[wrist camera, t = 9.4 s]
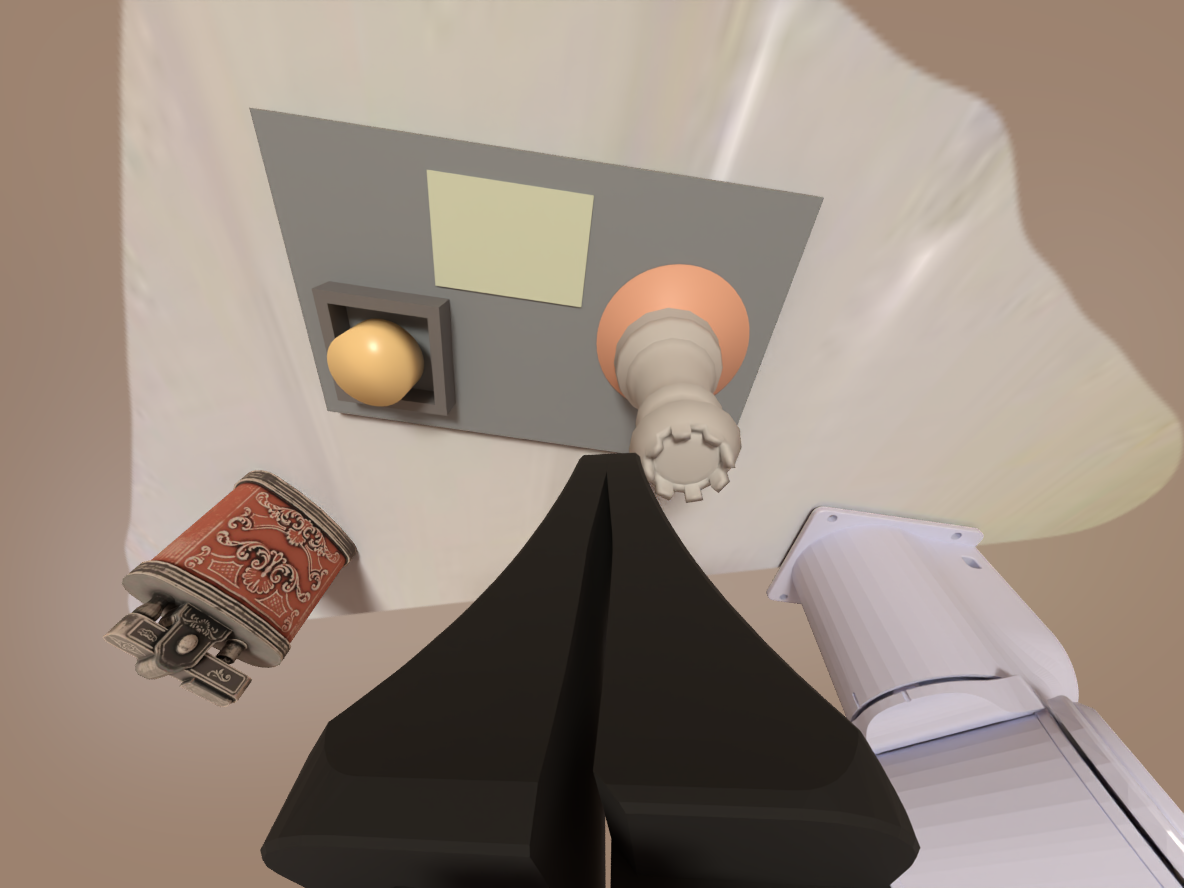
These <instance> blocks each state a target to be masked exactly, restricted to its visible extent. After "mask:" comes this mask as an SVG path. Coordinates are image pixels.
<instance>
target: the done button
mask: <svg viewBox="0 0 1184 888" xmlns="http://www.w3.org/2000/svg"><path fill="white" fill-rule="evenodd" d="M327 363H328V367H329V370H330V373H331V375H332V377H333V378H334V380H335V381H336V383H337V384H338V385H339V386H340V387H341V389H343V390H344V391H345V392H346V393H347V394H348V395H350V396H351V397H353V398H354V399H356V400H358V401H360V402H362V403H365V404H368V405H372V406H389V405H392V404H395V403H397V402H398V401H400V400H401V399H402V398H403V397H404V396H405V395H406V394H407V392H408V391H409V390H410V389H411V388H412V387H413V386H414V385H415V384H416V383H417V382H418V381H419V379H420V378H421V376H422V374H423V370H424V358H423V354H422V351H421V349H420V347H419V345H418V343H417V342H416V340H415V339H414V338H413V337H412V336H411V334H410V333H408V332H407V331H406V330H405V329H404V328H402V327H401V326H399V325H397V324H395V323H393V322H391V321H388V320H384V319H368V320H364V321H362V322H360V323H359V324H357V325H355V326H354V327H352V328H351V329H349V330H347V331H346V332H344V333H343V334H341V335H339V336H338V337H336V338H335V339H334V340H333V341H332V343H331V344H330V346H329V348H328V352H327Z"/></svg>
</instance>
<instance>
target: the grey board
mask: <svg viewBox="0 0 1184 888" xmlns="http://www.w3.org/2000/svg"><path fill="white" fill-rule="evenodd" d="M250 112H251V116H252V120H253V124H254V128H255V131H256V135H257V139H258V143H259V147H260V151H261V155H262V159H263V162H264V166H265V170H266V174H267V178H268V182H269V186H270V190H271V193H272V197H273V201H274V205H275V209H276V213H277V217H278V221H279V224H280V228H281V232H282V236H283V240H284V244H285V248H286V252H287V255H288V259H289V263H290V267H291V271H292V275H293V279H294V283H295V286H296V290H297V294H298V298H299V302H300V306H301V310H302V314H303V317H304V321H305V325H306V329H307V333H308V337H309V341H310V345H311V348H312V352H313V356H314V360H315V364H316V368H317V372H318V376H319V379H320V383H321V387H322V391H323V395H324V399H325V403H326V407H327V410H328V411H332V412H339V413H346V414H353V415H360V416H367V417H374V418H381V419H388V420H395V421H402V422H409V423H416V424H423V425H430V426H437V427H444V428H451V429H458V430H465V431H472V432H479V433H486V434H493V435H500V436H507V437H514V438H521V439H528V440H535V441H542V442H549V443H555V444H562V445H569V446H576V447H583V448H590V449H597V450H604V451H611V452H618V453H629V447H630V442H631V437H632V433H633V431H634V430H635V428H636V424H635V423H636V418H637V414H638V409H637V408H635V407H633V406H632V405H631V403H630V402H629V401H628V400H627V398H626V397H625V396H624V395H623V393H622V392H621V391H620V389H619V385H618V381H617V377H616V373H615V366H614V359H615V353H616V347H617V343H618V341H619V340H620V338H621V337H622V335H623V333H624V332H625V330H626V329H627V327H628V326H629V325H630V324H632V323H633V322H635V321H636V320H637V319H639V318H640V317H642V316H643V315H644V314H646V313H649V312H653V311H657V310H661V309H665V308H673V309H680V310H687V311H691V312H692V313H694V314H696V315H697V316H699V317H700V318H702V319H703V320H705V321H707V322H708V323H709V325H710V327H711V328H712V330H713V331H714V333H715V335H716V336H717V338H718V341H719V346H720V348H721V355H722V364H723V369H722V373H721V376H720V379H719V382H718V385H717V388H716V390H715V391H714V393H713V394H714V396H715V397H716V399H717V400H718V402H719V403H720V405H721V406H722V410H724V411H725V412H727V413H729V414H730V416H731V417H732V419H733V420H734V422H735V423H736V425H738V422H739V420H740V417H741V414H742V412H743V409H744V406H745V404H746V401H747V399H748V396H749V393H750V391H751V388H752V385H753V383H754V380H755V378H756V375H757V372H758V370H759V367H760V364H761V362H762V359H763V357H764V354H765V351H766V349H767V346H768V343H769V341H770V338H771V336H772V333H773V330H774V328H775V325H776V322H777V320H778V317H779V315H780V312H781V309H782V307H783V304H784V301H785V299H786V296H787V294H788V291H789V288H790V286H791V283H792V280H793V278H794V275H795V273H796V270H797V267H798V265H799V262H800V259H801V257H802V254H803V252H804V249H805V246H806V244H807V241H808V238H809V236H810V233H811V231H812V228H813V225H814V223H815V220H816V217H817V215H818V212H819V210H820V207H821V204H822V202H823V199H824V198H823V197H818V196H812V195H806V194H799V193H793V192H787V191H780V190H774V189H767V188H761V187H755V186H748V185H742V184H735V183H729V182H723V181H716V180H710V179H703V178H697V177H691V176H684V175H678V174H672V173H665V172H659V171H652V170H646V169H640V168H633V167H627V166H620V165H614V164H608V163H601V162H595V161H588V160H582V159H576V158H569V157H563V156H556V155H550V154H544V153H537V152H531V151H525V150H518V149H512V148H505V147H499V146H493V145H486V144H480V143H473V142H467V141H461V140H454V139H448V138H441V137H435V136H429V135H422V134H416V133H410V132H403V131H397V130H390V129H384V128H378V127H371V126H365V125H358V124H352V123H346V122H339V121H333V120H326V119H320V118H314V117H307V116H301V115H295V114H288V113H282V112H275V111H269V110H262V109H254V108H250ZM368 319H384V320H388V321H391V322H393V323H395V324H397V325H399V326H401V327H402V328H404V329H405V330H406V331H407V332H408V333H410V334H411V336H412V337H413V338H414V339H415V340H416V342H417V343H418V345H419V347H420V349H421V351H422V354H423V358H424V370H423V374H422V376H421V378H420V379H419V381H418V382H417V383H416V384H415V385H414V386H413V387H412V388H411V389H410V390H409V391H408V392H407V394H406V395H405V396H404V397H403V398H402V399H401V400H400V401H398V402H397V403H395V404H392V405H389V406H372V405H368V404H365V403H362V402H360V401H358V400H356V399H354V398H353V397H351V396H350V395H348V394H347V393H346V392H345V391H344V390H343V389H341V387H340V386H339V385H338V384H337V383H336V381H335V380H334V378H333V377H332V375H331V373H330V370H329V367H328V363H327V352H328V348H329V346H330V344H331V343H332V341H333V340H334V339H335V338H336V337H338V336H339V335H341V334H343V333H344V332H346V331H347V330H349V329H351V328H352V327H354V326H355V325H357V324H359V323H360V322H362V321H364V320H368Z"/></svg>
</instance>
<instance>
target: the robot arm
mask: <svg viewBox="0 0 1184 888" xmlns="http://www.w3.org/2000/svg"><path fill="white" fill-rule="evenodd" d="M831 515H833V516H831ZM829 516H831V517H829ZM983 537H984V534H983V533H982V532H981V531H980V530H979V529H978V528H973V527H966V526H959V525H952V524H945V523H938V522H931V521H924V520H917V519H910V518H903V517H896V516H889V515H882V514H875V513H868V512H861V511H854V510H846V509H839V508H832V507H825V506H821V507H817V508H816V509H814V510H813V511H812V513H811V515H810V516H809V518H808V520H807V522H806V523H805V525H804V527H803V529H802V530H801V532H800V534H799V536H798V537H797V539H796V541H795V542H794V544H793V546H792V548H791V549H790V551H789V553H788V555H787V556H786V558H785V560H784V562H783V563H782V565H781V567H780V568H779V570H778V572H777V574H776V575H775V577H774V579H773V581H772V583H771V584H770V586H769V588H768V589H767V596H768V598H769V599H771V600H776V601H783V602H790V603H797V604H802V606H803V609H804V611H805V614H806V616H807V619H808V621H809V624H810V626H811V629H812V631H813V634H814V636H815V639H816V642H817V644H818V647H819V649H820V652H821V654H822V656H823V659H824V662H825V664H826V667H827V669H828V672H829V675H830V677H831V679H832V682H833V685H834V687H835V690H836V692H837V695H838V697H839V700H840V702H841V705H842V707H843V710H844V712H845V715H846V717H845V716H844V715H842V714H841V713H840V712H839V711H838V710H837V709H836V708H835V707H833V706H832V705H831V704H830V703H829V702H828V701H827V700H826V699H824V698H823V697H822V696H821V695H820V694H819V693H818V692H817V691H816V690H815V689H814V688H812V687H811V686H810V685H809V684H808V683H807V682H806V681H805V680H804V679H803V678H802V677H801V676H799V675H798V674H797V673H796V672H795V671H794V670H793V669H792V668H791V667H790V666H789V665H788V664H787V663H786V662H785V661H784V660H783V659H782V658H781V657H780V656H779V655H778V654H777V653H776V652H775V651H774V650H773V649H772V648H771V647H770V646H769V645H767V643H766V642H765V641H764V640H763V639H762V638H761V637H760V636H759V635H758V634H757V633H756V632H755V630H754V629H753V628H752V627H751V626H750V625H749V624H748V623H747V622H746V621H745V620H744V619H743V617H741V615H740V614H739V613H738V612H737V611H736V610H735V609H734V608H733V607H732V606H731V604H730V603H729V602H728V601H727V600H726V599H725V598H724V596H723V595H722V594H721V593H720V592H719V590H718V589H717V588H716V587H715V586H714V584H713V583H712V582H711V581H710V579H709V578H708V577H707V576H706V574H705V573H704V572H703V570H702V569H701V568H700V566H699V565H698V564H697V563H696V561H695V560H694V558H693V557H692V556H691V554H690V553H689V551H688V550H687V549H686V547H685V546H684V544H683V543H682V541H681V540H680V538H679V537H678V535H677V534H676V532H675V530H674V529H673V527H672V526H671V524H670V522H669V521H668V519H667V517H666V516H665V514H664V512H663V510H662V508H661V506H660V505H659V503H658V501H657V499H656V497H655V495H654V493H653V491H652V489H651V487H650V485H649V482H648V480H647V478H646V475H645V473H644V470H643V467H642V463H641V458H640V456H639V455H638V454H637V453H618V454H599V455H583V456H582V457H581V458H580V459H579V461H578V463H577V465H576V467H575V469H574V471H573V473H572V475H571V477H570V479H569V480H568V482H567V484H566V485H565V487H564V489H563V491H562V492H561V494H560V495H559V497H558V499H557V500H556V502H555V503H554V505H553V506H552V508H551V509H550V511H549V513H548V514H547V516H546V517H545V518H544V520H543V521H542V523H541V524H540V525H539V527H538V528H537V529H536V531H535V532H534V534H533V535H532V536H531V538H530V539H529V540H528V542H527V543H526V544H525V546H524V547H523V548H522V549H521V551H520V552H519V553H518V554H517V556H516V557H515V558H514V559H513V560H512V562H511V563H510V564H509V565H508V566H507V567H506V569H505V570H504V571H503V572H502V573H501V574H500V575H499V576H498V578H497V579H496V580H495V581H494V582H493V583H492V584H491V585H490V586H489V587H488V588H487V589H486V590H485V591H484V592H483V593H482V594H481V595H480V596H479V598H478V599H477V600H476V601H475V602H474V603H473V604H472V605H471V606H470V607H469V608H468V609H467V610H466V611H465V612H464V613H463V614H462V615H460V617H458V618H457V619H456V620H455V621H454V622H453V623H452V624H451V625H450V626H449V627H448V628H446V629H445V630H444V631H443V632H442V633H441V634H439V635H438V636H437V637H436V638H435V639H434V640H433V641H431V642H430V643H429V644H428V645H427V646H426V647H425V648H424V649H422V650H421V651H420V652H419V653H418V654H417V655H416V656H414V657H413V658H412V659H411V660H410V661H408V662H407V663H406V664H405V665H404V666H402V667H401V668H400V669H399V670H397V671H396V672H395V673H394V674H392V675H391V676H390V677H388V678H387V679H386V680H384V681H383V682H382V683H380V684H379V685H378V686H377V687H375V688H374V689H373V690H371V691H370V692H369V693H368V694H366V695H365V696H363V697H362V698H361V699H359V700H358V701H357V702H355V703H354V704H353V705H352V706H350V707H349V708H347V709H346V710H345V711H343V712H342V713H341V714H339V715H338V716H336V717H335V718H334V719H332V720H331V721H329V722H328V724H327V726H326V727H325V729H324V731H323V732H322V734H321V736H320V737H319V739H318V741H317V743H316V744H315V746H314V747H313V749H312V751H311V752H310V754H309V756H308V758H307V760H306V762H305V764H304V766H303V768H302V770H301V772H300V774H299V776H298V778H297V780H296V782H295V784H294V786H293V788H292V789H291V792H290V793H289V795H288V797H287V799H286V801H285V803H284V805H283V807H282V809H281V811H280V813H279V815H278V817H277V819H276V821H275V822H274V825H273V826H272V828H271V830H270V832H269V834H268V836H267V838H266V840H265V842H264V844H263V846H262V848H261V854H262V859H263V861H264V863H265V864H266V866H267V867H268V868H270V869H271V870H273V871H274V872H276V873H278V874H279V875H281V876H283V877H285V878H287V879H289V880H291V881H293V882H295V883H297V884H299V885H301V886H303V887H305V888H605V817H606V820H607V824H608V827H609V831H610V835H611V888H1184V813H1183V812H1182V811H1181V810H1180V809H1179V808H1178V806H1177V805H1176V804H1175V803H1174V802H1173V800H1171V798H1170V797H1169V796H1168V795H1167V793H1166V792H1165V791H1164V790H1163V789H1162V788H1161V786H1160V785H1159V784H1158V783H1157V782H1156V781H1155V780H1154V778H1153V777H1152V776H1151V775H1150V774H1149V772H1148V771H1147V770H1146V769H1145V768H1144V766H1143V765H1142V764H1141V763H1140V762H1139V761H1138V759H1137V758H1136V757H1135V756H1134V755H1133V753H1132V752H1131V751H1130V750H1129V749H1128V748H1127V746H1126V745H1125V744H1124V743H1123V742H1122V741H1121V739H1120V738H1119V737H1118V736H1117V735H1116V733H1114V731H1113V730H1112V729H1111V728H1110V726H1109V725H1108V724H1107V723H1106V722H1105V721H1104V719H1103V718H1102V717H1101V716H1100V715H1099V714H1098V712H1097V711H1096V710H1095V709H1093V708H1091V707H1088V706H1086V705H1083V704H1081V703H1078V698H1079V692H1078V684H1077V679H1076V675H1075V672H1074V669H1073V666H1072V663H1071V661H1070V659H1069V657H1068V655H1067V653H1066V651H1065V650H1064V648H1063V646H1062V645H1061V643H1060V642H1059V641H1058V640H1057V638H1056V637H1055V636H1054V635H1053V633H1052V632H1051V631H1050V630H1049V629H1048V628H1047V627H1046V626H1045V624H1044V623H1043V622H1042V621H1041V620H1040V619H1039V618H1038V617H1037V615H1036V614H1035V613H1034V612H1033V611H1032V610H1031V609H1030V608H1029V606H1028V605H1027V604H1026V603H1025V602H1024V601H1023V600H1022V599H1021V597H1019V596H1018V594H1017V593H1016V592H1015V591H1014V590H1013V589H1012V587H1011V586H1010V585H1009V584H1008V583H1007V582H1006V581H1005V580H1004V579H1003V577H1001V575H1000V574H999V573H998V572H997V571H996V570H995V568H994V567H993V566H992V565H991V564H990V563H989V562H988V561H987V560H986V558H984V556H983V555H982V554H981V553H980V552H979V551H978V550H977V549H976V546H977V545H978V543H979V542H980V541H981V540H982V539H983Z"/></svg>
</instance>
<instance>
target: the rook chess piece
mask: <svg viewBox="0 0 1184 888" xmlns="http://www.w3.org/2000/svg"><path fill="white" fill-rule="evenodd" d="M614 366H615V373H616V377H617V381H618V385H619V389H620V391H621V392H622V393H623V395H624V396H625V397H626V398H627V400H628V401H629V402H630V403H631V405H632V406H633V407H635V408H637V409H638V414H637V418H636V423H635V424H636V428H635V430H634V431H633V433H632V437H631V442H630V447H629V453H637V454H638V455H639V456H640V458H641V463H642V467H643V470H644V473H645V475H646V478H647V480H648V482H650V483H652V484H654V485H655V493H656V494H657V495H659V496H661V497H663V498H665V499H667V500H669V501H670V499H671V497H672V496H673V494H674V492H673V491H676V492H683V493H684V494H685V499H686V503H688V502H695V501H701V500H703V498H702V493H701V490H702V489H704V488H706V487H708V486H710V485H711V487H712V488H713V489H714V490H715V491H717V492H718V493H719V492H720V491H721V490H722V489H723V488H724V487H725V486H726V485H727V484H728V483H729V482H730V481H729V478H728V475H727V472H728V471H729V470H730V469H731V468H735V462H736V460H737V457H738V455H739V452H740V450H741V438H740V429H739V428H738V426H737V425H736V423H735V422H734V420H733V419H732V417H731V416H730V414H729V413H727V412H725V411H724V410H722V406H721V405H720V403H719V402H718V400H717V399H716V397H715V396H714V394H713V393H714V391H715V390H716V388H717V385H718V382H719V379H720V376H721V373H722V369H723V364H722V355H721V348H720V346H719V341H718V338H717V336H716V335H715V333H714V331H713V330H712V328H711V327H710V325H709V323H708V322H707V321H705V320H703V319H702V318H700V317H699V316H697V315H696V314H694V313H692V312H691V311H687V310H680V309H673V308H665V309H661V310H657V311H653V312H649V313H646V314H644V315H643V316H642V317H640V318H639V319H637V320H636V321H635V322H633V323H632V324H630V325H629V326H628V327H627V329H626V330H625V332H624V333H623V335H622V337H621V338H620V340H619V341H618V343H617V347H616V353H615V359H614Z"/></svg>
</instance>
